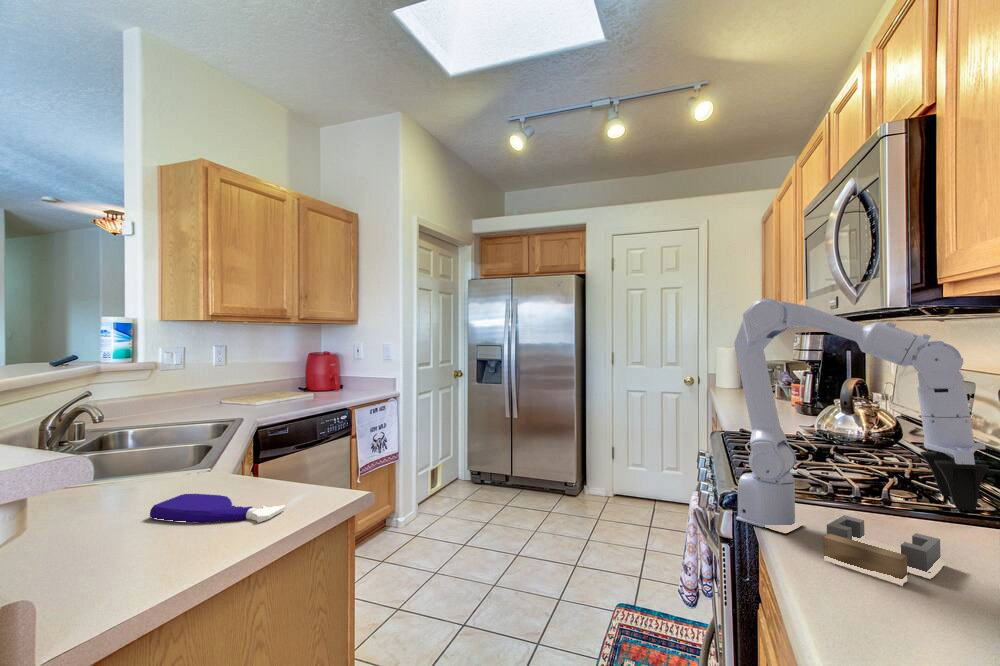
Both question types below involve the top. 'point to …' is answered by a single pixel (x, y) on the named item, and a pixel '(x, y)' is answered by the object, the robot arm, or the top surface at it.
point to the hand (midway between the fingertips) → (957, 502)
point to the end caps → (918, 553)
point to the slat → (865, 556)
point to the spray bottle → (209, 509)
